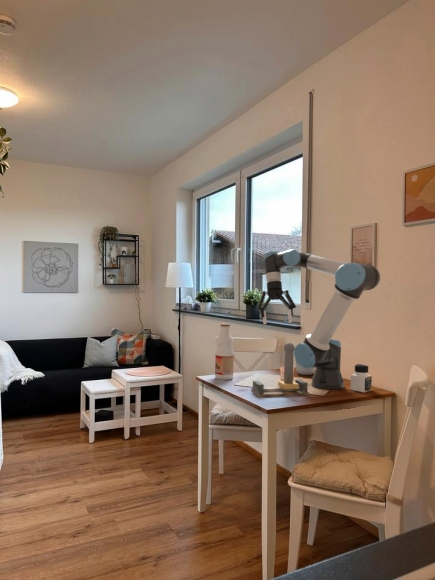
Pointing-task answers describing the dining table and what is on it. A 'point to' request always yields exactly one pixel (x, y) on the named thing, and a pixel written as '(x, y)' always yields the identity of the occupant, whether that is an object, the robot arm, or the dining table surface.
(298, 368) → the teacup
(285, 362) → the post
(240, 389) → the dining table surface
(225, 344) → the fruit juice
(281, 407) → the dining table surface
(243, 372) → the dining table surface
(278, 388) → the rail board
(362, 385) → the medicine bottle
